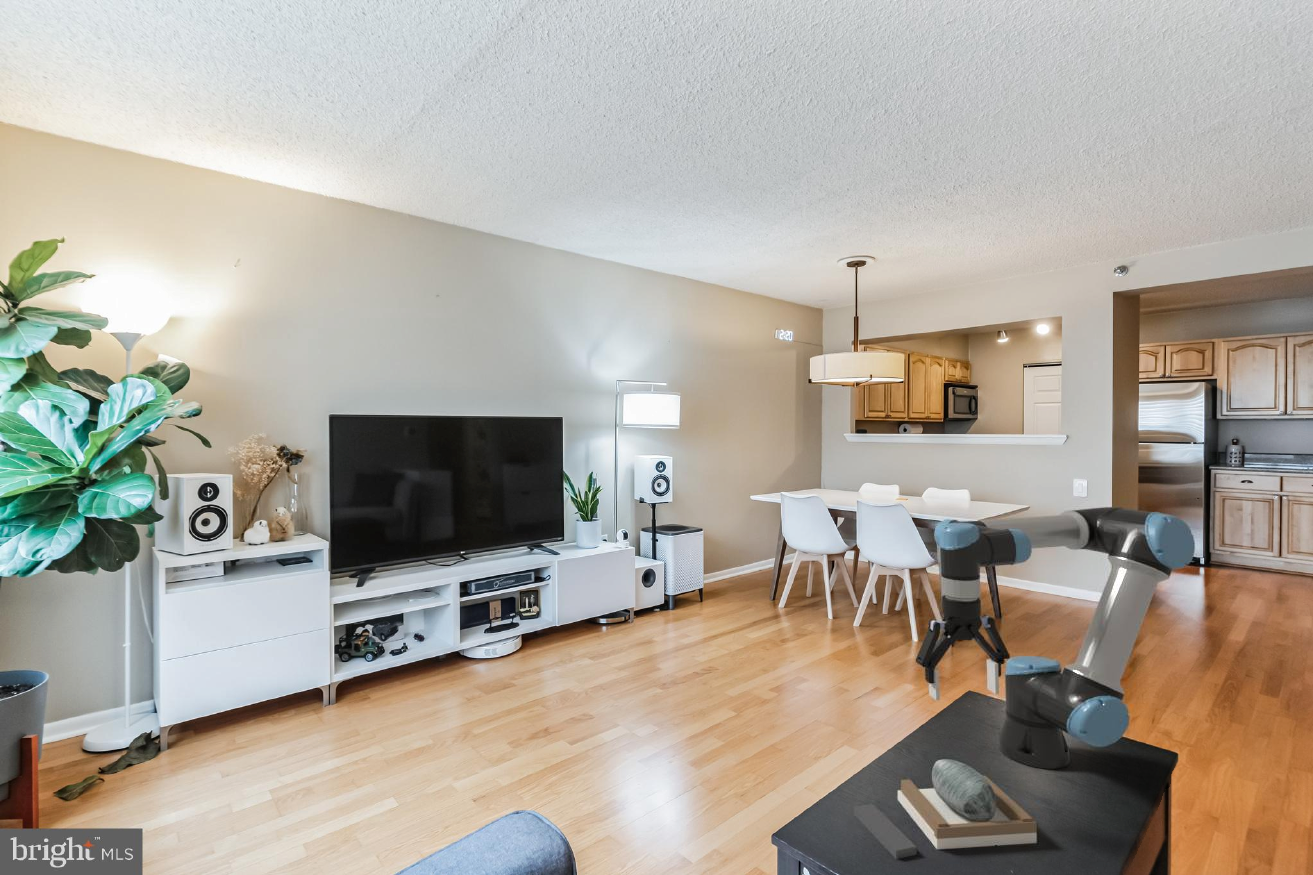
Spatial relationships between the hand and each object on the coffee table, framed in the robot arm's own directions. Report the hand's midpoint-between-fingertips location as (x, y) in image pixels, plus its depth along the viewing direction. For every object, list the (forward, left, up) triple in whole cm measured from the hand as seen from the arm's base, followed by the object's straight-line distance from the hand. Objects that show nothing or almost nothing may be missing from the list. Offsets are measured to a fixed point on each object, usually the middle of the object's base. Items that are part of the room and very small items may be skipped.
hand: (963, 694), depth 134 cm
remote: (+22, +9, -23) cm, 33 cm away
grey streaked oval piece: (+4, +6, -21) cm, 22 cm away
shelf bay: (+4, +7, -23) cm, 24 cm away
